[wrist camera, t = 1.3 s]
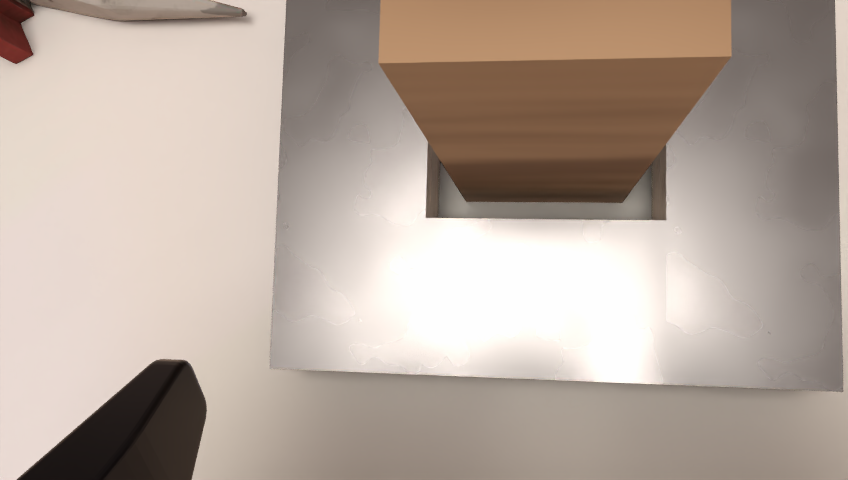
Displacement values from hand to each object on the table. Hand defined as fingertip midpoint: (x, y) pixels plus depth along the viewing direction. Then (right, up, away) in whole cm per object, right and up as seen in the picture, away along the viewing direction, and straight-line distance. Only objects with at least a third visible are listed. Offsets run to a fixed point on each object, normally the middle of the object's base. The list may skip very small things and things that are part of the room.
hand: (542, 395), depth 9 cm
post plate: (+2, +5, +13) cm, 14 cm away
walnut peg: (+2, +5, +13) cm, 14 cm away
